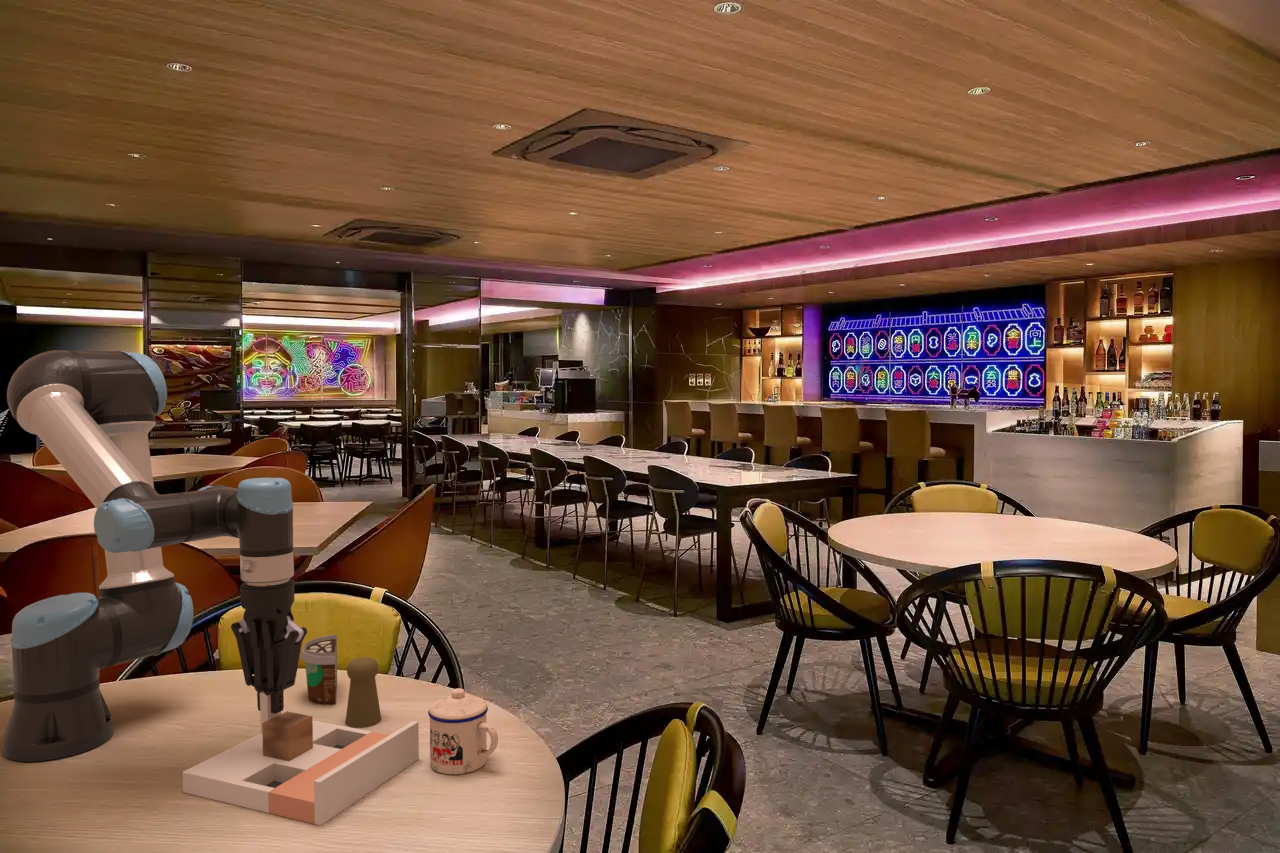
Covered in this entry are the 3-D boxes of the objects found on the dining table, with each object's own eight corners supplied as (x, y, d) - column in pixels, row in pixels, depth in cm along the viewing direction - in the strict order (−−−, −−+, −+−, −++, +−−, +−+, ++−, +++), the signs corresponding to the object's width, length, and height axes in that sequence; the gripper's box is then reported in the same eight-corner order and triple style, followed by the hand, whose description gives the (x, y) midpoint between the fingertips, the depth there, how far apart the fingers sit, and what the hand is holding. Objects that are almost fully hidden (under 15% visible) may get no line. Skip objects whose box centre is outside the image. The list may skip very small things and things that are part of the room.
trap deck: (182, 792, 127) (181, 751, 127) (294, 734, 148) (293, 699, 147) (320, 825, 118) (319, 782, 118) (418, 759, 139) (418, 721, 138)
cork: (370, 729, 150) (369, 666, 149) (338, 726, 151) (337, 663, 150) (387, 715, 156) (386, 654, 155) (356, 712, 157) (355, 652, 156)
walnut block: (262, 755, 133) (262, 723, 132) (287, 742, 137) (286, 711, 137) (288, 761, 131) (288, 728, 130) (312, 748, 135) (312, 716, 135)
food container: (303, 687, 169) (302, 636, 169) (337, 684, 171) (336, 633, 171) (299, 711, 158) (298, 656, 157) (335, 707, 160) (334, 653, 159)
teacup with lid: (416, 768, 135) (415, 694, 135) (455, 746, 143) (454, 676, 143) (477, 786, 130) (477, 708, 129) (514, 762, 138) (514, 689, 137)
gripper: (215, 581, 132) (219, 734, 134) (282, 589, 128) (286, 748, 129) (253, 571, 139) (257, 717, 141) (319, 578, 135) (322, 729, 136)
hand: (271, 731), depth 135 cm, fingers closed
